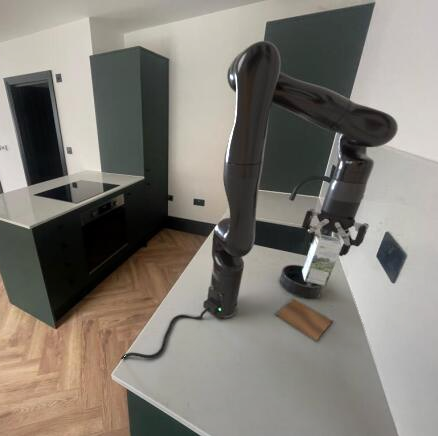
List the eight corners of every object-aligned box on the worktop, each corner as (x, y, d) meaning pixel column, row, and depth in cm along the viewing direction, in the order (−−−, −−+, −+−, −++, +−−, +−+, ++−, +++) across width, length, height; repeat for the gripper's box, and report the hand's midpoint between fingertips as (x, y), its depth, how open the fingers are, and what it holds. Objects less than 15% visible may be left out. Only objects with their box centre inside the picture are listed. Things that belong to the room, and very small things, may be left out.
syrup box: (322, 276, 74) (337, 236, 68) (326, 287, 69) (342, 245, 63) (301, 271, 76) (314, 232, 70) (304, 282, 71) (317, 241, 65)
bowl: (310, 305, 81) (314, 293, 79) (272, 284, 91) (275, 273, 89) (326, 289, 88) (330, 277, 86) (289, 271, 98) (292, 260, 96)
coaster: (316, 341, 68) (316, 340, 68) (276, 315, 77) (276, 314, 77) (332, 321, 75) (332, 320, 74) (293, 299, 84) (293, 299, 83)
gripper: (307, 192, 65) (293, 242, 71) (374, 207, 54) (350, 264, 61) (318, 187, 68) (304, 235, 75) (383, 200, 58) (359, 255, 65)
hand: (324, 248), depth 68 cm, fingers closed on syrup box, 7 cm apart
